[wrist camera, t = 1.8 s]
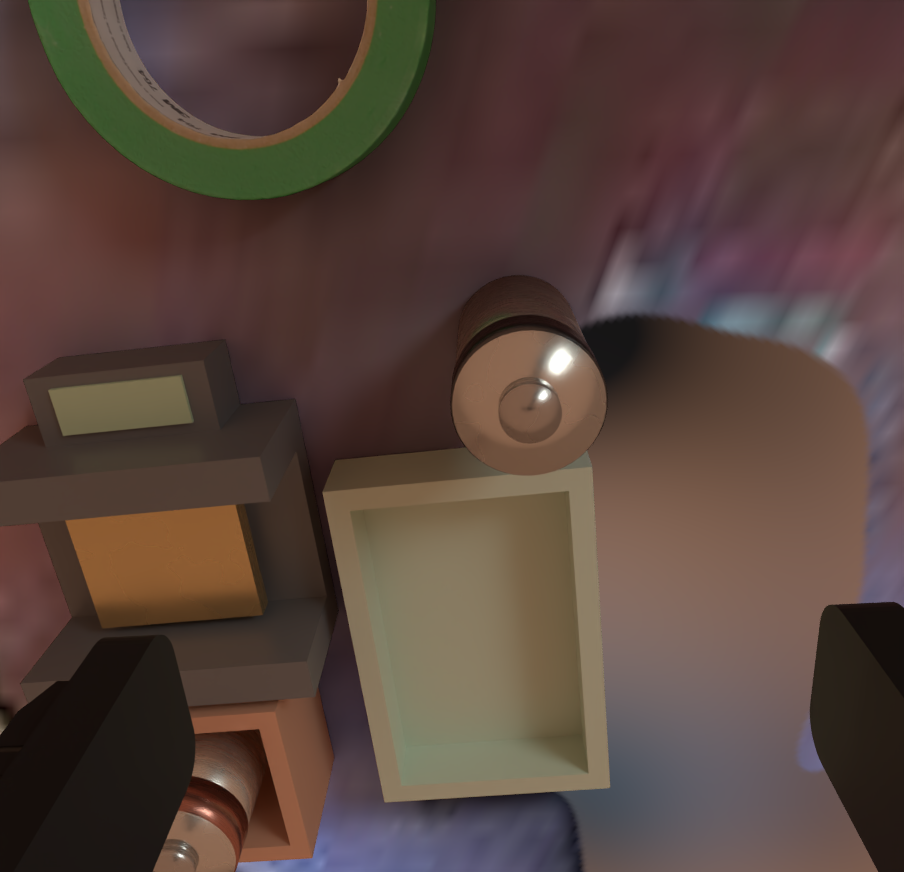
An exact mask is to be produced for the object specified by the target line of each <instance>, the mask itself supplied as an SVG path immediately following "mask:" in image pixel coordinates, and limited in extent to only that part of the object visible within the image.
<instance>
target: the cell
mask: <svg viewBox="0 0 904 872" xmlns="http://www.w3.org/2000/svg"><path fill="white" fill-rule="evenodd" d="M450 406H451V416H452V421H453V424H454V427H455V430H456V432H457V434H458V436H459V438H460V440H461V441H462V443H463V444H464V446H465V447H466V448H467V449H468V450H469V452H470V453H471V454H472V455H473V456H475V457H476V458H477V459H478V460H479V461H481V462H483V463H484V464H486V465H487V466H489V467H491V468H493V469H495V470H498V471H501V472H504V473H508V474H513V475H522V476H533V475H541V474H546V473H550V472H553V471H556V470H559V469H561V468H564V467H565V466H567V465H569V464H571V463H572V462H574V461H575V460H577V459H578V458H579V457H581V456H582V455H583V454H584V453H585V452H586V451H587V450H588V449H589V448H590V446H591V445H592V444H593V443H594V441H595V440H596V438H597V437H598V435H599V433H600V431H601V429H602V427H603V424H604V421H605V418H606V412H607V407H608V396H607V387H606V383H605V379H604V376H603V374H602V372H601V370H600V367H599V365H598V363H597V361H596V359H595V356H594V354H593V352H592V350H591V349H590V347H589V345H588V344H587V343H586V341H585V338H584V336H583V334H582V332H581V329H580V327H579V325H578V323H577V320H576V318H575V316H574V314H573V312H572V309H571V307H570V305H569V303H568V302H567V300H566V299H565V297H564V296H563V295H562V294H561V293H560V292H559V291H558V290H557V289H556V288H555V287H553V286H552V285H551V284H549V283H547V282H545V281H543V280H541V279H538V278H535V277H531V276H525V275H511V276H506V277H502V278H499V279H496V280H494V281H491V282H489V283H488V284H486V285H484V286H483V287H482V288H480V289H479V290H478V291H477V292H476V293H475V294H474V295H473V296H472V297H471V298H470V300H469V301H468V303H467V304H466V306H465V308H464V310H463V312H462V315H461V318H460V322H459V329H458V341H457V352H456V364H455V368H454V373H453V378H452V389H451V401H450Z"/></svg>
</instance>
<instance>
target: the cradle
mask: <svg viewBox="0 0 904 872" xmlns="http://www.w3.org/2000/svg"><path fill="white" fill-rule="evenodd" d="M23 382H24V385H25V387H26V390H27V393H28V396H29V399H30V402H31V405H32V408H33V411H34V414H35V417H36V420H37V423H38V425H34V426H26V427H24V428H23V429H22V430H20V431H19V432H18V433H16V434H15V435H13V436H12V437H11V438H9V439H8V440H6V441H5V442H4V443H2V444H1V445H0V526H11V525H22V524H32V523H38V524H39V527H40V529H41V532H42V535H43V538H44V541H45V543H46V546H47V549H48V552H49V555H50V557H51V560H52V563H53V566H54V569H55V571H56V574H57V577H58V580H59V583H60V585H61V588H62V591H63V594H64V596H65V599H66V602H67V605H68V608H69V610H70V613H71V616H72V618H71V619H70V621H69V622H68V623H67V625H66V626H65V627H64V628H63V630H62V631H61V632H60V633H59V635H58V636H57V637H56V639H55V640H54V641H53V642H52V644H51V645H50V646H49V647H48V649H47V650H46V651H45V653H44V654H43V655H42V656H41V658H40V659H39V660H38V662H37V663H36V664H35V665H34V667H33V668H32V669H31V670H30V672H29V673H28V674H27V676H26V677H25V678H24V679H23V681H22V682H21V683H20V685H21V687H22V690H23V692H24V694H25V697H26V699H27V702H28V703H30V702H31V701H32V700H33V699H35V698H36V697H37V696H38V695H40V694H41V693H42V692H44V691H45V690H46V689H47V688H49V687H50V686H51V685H52V684H54V683H55V682H56V681H69V680H70V679H71V677H72V676H73V675H74V673H75V672H76V670H77V669H78V667H79V666H80V665H81V663H82V662H83V660H84V659H85V657H86V656H87V655H88V653H89V652H90V650H91V649H92V647H93V646H94V645H95V644H96V642H97V641H99V640H100V639H102V638H104V637H123V636H144V635H165V636H166V637H168V638H169V640H170V641H171V643H172V646H173V649H174V652H175V656H176V660H177V664H178V668H179V672H180V676H181V680H182V684H183V688H184V692H185V696H186V700H187V704H188V707H189V706H202V705H216V704H229V703H243V702H256V701H270V700H283V699H296V698H310V697H315V696H316V692H317V688H318V685H319V681H320V677H321V674H322V670H323V666H324V663H325V659H326V655H327V652H328V648H329V644H330V641H331V637H332V633H333V630H334V626H335V622H336V619H337V615H338V611H339V610H338V605H337V600H336V595H335V590H334V586H333V581H332V576H331V571H330V566H329V561H328V556H327V551H326V547H325V542H324V537H323V532H322V527H321V522H320V517H319V512H318V508H317V503H316V498H315V493H314V488H313V483H312V478H311V473H310V468H309V464H308V459H307V454H306V449H305V444H304V439H303V434H302V429H301V425H300V420H299V415H298V410H297V405H296V400H295V399H289V400H279V401H269V402H259V403H249V404H240V401H239V397H238V392H237V388H236V384H235V380H234V375H233V371H232V367H231V362H230V358H229V354H228V350H227V345H226V341H225V340H216V341H207V342H198V343H189V344H180V345H170V346H161V347H152V348H143V349H134V350H124V351H115V352H106V353H97V354H87V355H78V356H69V357H60V358H57V359H56V360H54V361H52V362H51V363H49V364H47V365H46V366H44V367H43V368H41V369H39V370H38V371H36V372H34V373H33V374H31V375H30V376H28V377H26V378H25V379H23ZM237 504H244V505H245V509H246V513H247V518H248V522H249V526H250V530H251V534H252V538H253V542H254V546H255V550H256V554H257V559H258V563H259V567H260V571H261V575H262V579H263V583H264V587H265V591H266V595H267V600H268V604H267V606H266V609H265V611H264V614H263V615H259V616H247V617H235V618H223V619H211V620H199V621H186V622H174V623H162V624H150V625H138V626H126V627H114V628H102V627H101V624H100V621H99V618H98V615H97V612H96V609H95V606H94V603H93V600H92V597H91V594H90V592H89V589H88V586H87V583H86V580H85V577H84V574H83V571H82V568H81V565H80V562H79V559H78V557H77V554H76V551H75V548H74V545H73V542H72V539H71V536H70V533H69V530H68V527H67V524H66V521H65V520H75V519H86V518H97V517H108V516H118V515H129V514H140V513H151V512H161V511H172V510H183V509H194V508H204V507H215V506H226V505H237Z"/></svg>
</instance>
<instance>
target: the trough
mask: <svg viewBox="0 0 904 872" xmlns="http://www.w3.org/2000/svg"><path fill="white" fill-rule="evenodd" d="M322 493H323V498H324V503H325V508H326V513H327V518H328V523H329V528H330V533H331V538H332V543H333V547H334V552H335V557H336V562H337V567H338V572H339V577H340V582H341V587H342V592H343V597H344V602H345V607H346V612H347V617H348V622H349V627H350V632H351V637H352V642H353V647H354V652H355V657H356V662H357V667H358V672H359V677H360V682H361V687H362V692H363V697H364V702H365V707H366V712H367V717H368V722H369V727H370V732H371V737H372V742H373V747H374V752H375V757H376V762H377V767H378V772H379V777H380V782H381V787H382V792H383V797H384V802H399V801H415V800H430V799H446V798H461V797H477V796H492V795H508V794H523V793H539V792H554V791H570V790H584V789H585V790H586V789H601V788H610V776H609V759H608V744H607V743H608V741H607V723H606V706H605V689H604V670H603V654H602V653H603V652H602V635H601V617H600V600H599V584H598V583H599V582H598V565H597V546H596V528H595V510H594V494H593V493H594V492H593V475H592V465H591V462H590V459H589V456H588V452H587V451H586V452H585V453H584V454H583V455H582V456H581V457H579V458H578V459H577V460H575V461H574V462H572V463H571V464H569V465H567V466H565V467H564V468H561V469H559V470H556V471H553V472H550V473H546V474H541V475H533V476H522V475H513V474H508V473H504V472H501V471H498V470H495V469H493V468H491V467H489V466H487V465H486V464H484V463H483V462H481V461H479V460H478V459H477V458H476V457H475V456H473V455H472V454H471V453H470V452H469V450H468V449H467V448H466V447H465V448H455V449H445V450H434V451H424V452H413V453H403V454H393V455H382V456H372V457H362V458H351V459H341V460H335V462H334V464H333V467H332V469H331V472H330V474H329V477H328V479H327V482H326V484H325V487H324V489H323V492H322Z"/></svg>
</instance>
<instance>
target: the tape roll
mask: <svg viewBox="0 0 904 872" xmlns="http://www.w3.org/2000/svg"><path fill="white" fill-rule="evenodd" d="M28 3H29V7H30V10H31V15H32V17H33V20H34V23H35V26H36V29H37V32H38V35H39V37H40V40H41V42H42V45H43V48H44V50H45V53H46V55H47V58H48V60H49V62H50V64H51V66H52V68H53V70H54V73H55V74H56V76H57V78H58V81H59V82H60V83H61V85H62V87H63V89H64V90H65V92H66V93H67V95H68V96H69V98H70V100H71V101H72V103H73V104H74V105H75V107H76V108H77V109H78V110H79V112H80V113H81V114H82V115H83V117H84V118H85V119H86V120H87V121H88V123H89V124H90V125H91V126H92V127H93V128H94V129H95V130H96V131H97V132H98V133H99V134H100V135H101V136H102V137H103V138H104V139H105V140H106V141H107V142H108V143H109V144H110V145H111V146H113V147H114V148H115V149H116V150H117V151H118V152H119V153H121V154H122V155H123V156H124V157H126V158H127V159H129V160H130V161H131V162H133V163H134V164H136V165H137V166H138V167H140V168H141V169H143V170H145V171H147V172H148V173H150V174H152V175H154V176H156V177H158V178H159V179H161V180H164V181H166V182H168V183H170V184H172V185H175V186H177V187H180V188H182V189H185V190H188V191H191V192H194V193H198V194H202V195H206V196H210V197H217V198H224V199H233V200H260V199H270V198H277V197H282V196H288V195H291V194H294V193H297V192H301V191H303V190H306V189H309V188H312V187H314V186H317V185H319V184H321V183H323V182H325V181H328V180H330V179H332V178H334V177H336V176H338V175H340V174H342V173H343V172H345V171H347V170H348V169H350V168H351V167H353V166H354V165H356V164H357V163H359V162H360V161H361V160H363V159H364V158H365V157H366V156H368V155H369V154H370V153H371V152H372V151H373V150H375V149H376V148H377V147H378V146H379V145H380V144H381V143H382V142H383V141H384V140H385V139H386V137H387V136H388V135H389V134H390V133H391V132H392V130H393V129H394V128H395V126H396V125H397V124H398V122H399V121H400V120H401V118H402V117H403V115H404V114H405V112H406V110H407V109H408V107H409V105H410V103H411V102H412V100H413V98H414V96H415V93H416V91H417V89H418V87H419V84H420V82H421V79H422V77H423V74H424V71H425V68H426V65H427V61H428V58H429V54H430V50H431V44H432V39H433V33H434V26H435V15H436V0H367V15H366V20H365V27H364V32H363V35H362V39H361V42H360V45H359V48H358V51H357V54H356V56H355V59H354V61H353V63H352V65H351V67H350V69H349V71H348V74H347V76H346V78H345V79H344V80H341V79H340V78H338V87H337V88H336V90H335V91H334V93H333V94H332V95H331V96H330V97H329V99H328V100H327V101H326V102H325V103H324V104H323V105H322V106H321V107H320V108H319V109H318V110H317V111H316V112H315V113H313V114H312V115H311V116H309V117H308V118H307V119H305V120H303V121H301V122H299V123H297V124H296V125H295V126H293V127H291V128H289V129H286V130H284V131H282V132H279V133H276V134H273V135H269V136H249V135H242V134H237V133H232V132H228V131H224V130H221V129H218V128H216V127H213V126H211V125H209V124H207V123H205V122H203V121H201V120H199V119H197V118H196V117H194V116H193V115H191V114H189V113H188V112H187V111H185V110H184V109H183V108H181V107H180V106H179V105H178V104H176V103H175V102H174V101H173V100H172V99H171V98H170V97H169V96H168V95H167V94H166V93H165V92H164V91H163V90H162V89H161V88H160V87H159V85H158V84H157V83H156V82H155V81H154V79H153V78H152V77H151V75H150V74H149V73H148V71H147V70H146V68H145V66H144V65H143V63H142V61H141V59H140V58H139V56H138V54H137V52H136V50H135V48H134V46H133V43H132V41H131V39H130V36H129V34H128V31H127V28H126V25H125V21H124V18H123V14H122V10H121V4H120V0H28Z"/></svg>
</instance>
